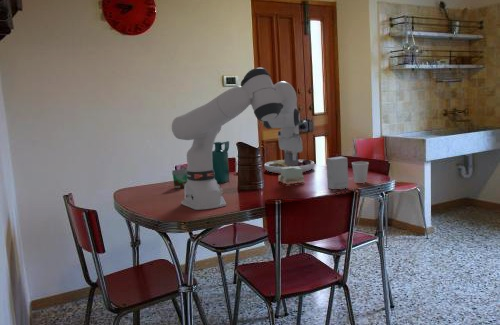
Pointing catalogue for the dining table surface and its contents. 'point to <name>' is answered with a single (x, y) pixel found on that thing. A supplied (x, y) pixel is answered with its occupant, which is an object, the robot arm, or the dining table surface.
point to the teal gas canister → (221, 162)
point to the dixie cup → (360, 171)
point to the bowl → (276, 165)
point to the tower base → (290, 179)
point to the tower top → (291, 172)
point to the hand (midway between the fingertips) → (291, 159)
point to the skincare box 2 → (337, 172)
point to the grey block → (290, 159)
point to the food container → (180, 177)
